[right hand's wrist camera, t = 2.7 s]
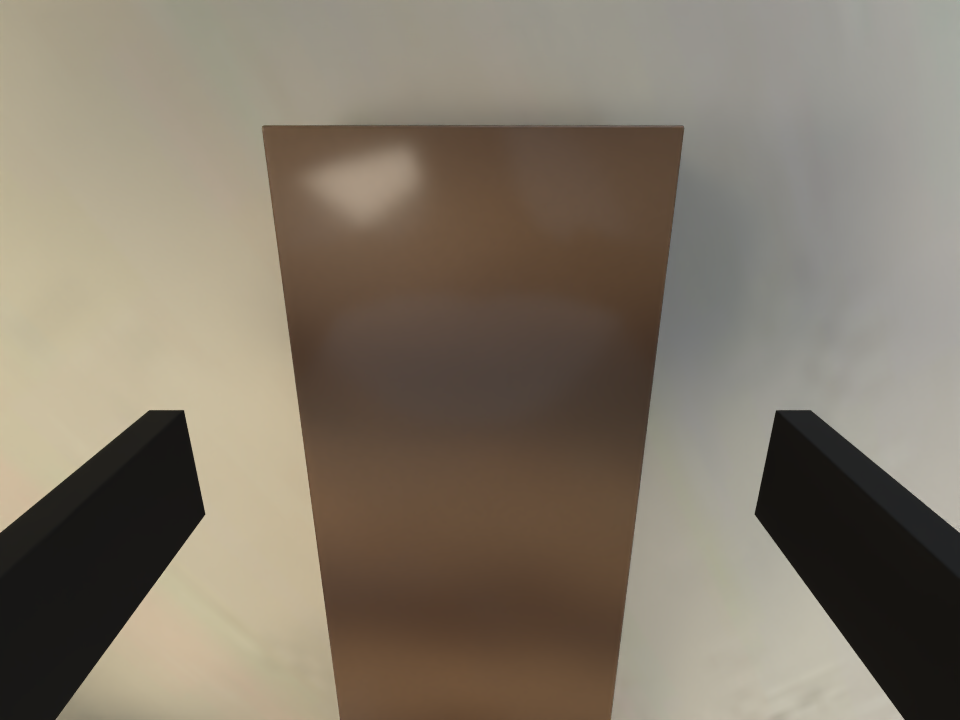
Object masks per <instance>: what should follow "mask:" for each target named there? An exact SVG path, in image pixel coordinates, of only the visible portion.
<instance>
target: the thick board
mask: <svg viewBox="0 0 960 720" xmlns="http://www.w3.org/2000/svg"><path fill="white" fill-rule="evenodd" d="M262 132H263V140H264V147H265V155H266V163H267V170H268V178H269V185H270V193H271V200H272V208H273V215H274V223H275V231H276V238H277V246H278V253H279V261H280V268H281V276H282V283H283V291H284V299H285V306H286V314H287V321H288V329H289V336H290V344H291V352H292V359H293V367H294V374H295V382H296V389H297V397H298V404H299V412H300V420H301V427H302V435H303V442H304V450H305V457H306V465H307V472H308V480H309V488H310V495H311V503H312V510H313V518H314V525H315V533H316V540H317V548H318V556H319V563H320V571H321V578H322V586H323V593H324V601H325V609H326V616H327V624H328V631H329V639H330V646H331V654H332V661H333V669H334V677H335V684H336V692H337V699H338V707H339V714H340V720H611V713H612V705H613V697H614V689H615V681H616V673H617V665H618V657H619V649H620V641H621V633H622V624H623V616H624V608H625V600H626V592H627V584H628V576H629V568H630V560H631V552H632V544H633V536H634V528H635V520H636V512H637V504H638V496H639V488H640V480H641V472H642V464H643V456H644V448H645V440H646V431H647V423H648V415H649V407H650V399H651V391H652V383H653V375H654V367H655V359H656V351H657V343H658V335H659V327H660V319H661V311H662V303H663V295H664V287H665V279H666V271H667V263H668V255H669V247H670V238H671V230H672V222H673V214H674V206H675V198H676V190H677V182H678V174H679V166H680V158H681V150H682V142H683V134H684V126H495V125H264V126H262Z"/></svg>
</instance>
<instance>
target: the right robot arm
mask: <svg viewBox="0 0 960 720" xmlns="http://www.w3.org/2000/svg"><path fill="white" fill-rule="evenodd" d="M204 515H205V510H204V506H203V501H202V496H201V491H200V486H199V481H198V476H197V472H196V467H195V462H194V457H193V452H192V447H191V442H190V438H189V433H188V428H187V423H186V418H185V413H184V410H149V411H148V412H147V413H145V414H144V415H143V416H142V417H141V418H139V419H138V420H137V421H136V422H135V423H133V424H132V425H131V426H130V427H128V428H127V429H126V430H125V431H124V432H122V433H121V434H120V435H119V436H118V437H116V438H115V439H114V440H113V441H111V442H110V443H109V444H108V445H107V446H105V447H104V448H103V449H102V450H101V451H99V452H98V453H97V454H96V455H94V456H93V457H92V458H91V459H90V460H88V461H87V462H86V463H85V464H84V465H82V466H81V467H80V468H79V469H77V470H76V471H75V472H74V473H73V474H71V475H70V476H69V477H68V478H67V479H65V480H64V481H63V482H62V483H60V484H59V485H58V486H57V487H56V488H54V489H53V490H52V491H51V492H49V493H48V494H47V495H46V496H45V497H43V498H42V499H41V500H40V501H39V502H37V503H36V504H35V505H34V506H32V507H31V508H30V509H29V510H28V511H26V512H25V513H24V514H23V515H22V516H20V517H19V518H18V519H17V520H15V521H14V522H13V523H12V524H11V525H9V526H8V527H7V528H6V529H5V530H3V531H2V532H1V533H0V720H55V719H56V718H57V717H58V715H59V714H60V713H61V711H62V710H63V709H64V707H65V706H66V704H67V703H68V702H69V700H70V699H71V698H72V696H73V695H74V693H75V692H76V691H77V689H78V688H79V687H80V685H81V684H82V683H83V681H84V680H85V678H86V677H87V676H88V674H89V673H90V672H91V670H92V669H93V667H94V666H95V665H96V663H97V662H98V661H99V659H100V658H101V656H102V655H103V654H104V652H105V651H106V650H107V648H108V647H109V646H110V644H111V643H112V641H113V640H114V639H115V637H116V636H117V635H118V633H119V632H120V630H121V629H122V628H123V626H124V625H125V624H126V622H127V621H128V620H129V618H130V617H131V615H132V614H133V613H134V611H135V610H136V609H137V607H138V606H139V604H140V603H141V602H142V600H143V599H144V598H145V596H146V595H147V594H148V592H149V591H150V589H151V588H152V587H153V585H154V584H155V583H156V581H157V580H158V578H159V577H160V576H161V574H162V573H163V572H164V570H165V569H166V567H167V566H168V565H169V563H170V562H171V561H172V559H173V558H174V557H175V555H176V554H177V552H178V551H179V550H180V548H181V547H182V546H183V544H184V543H185V541H186V540H187V539H188V537H189V536H190V535H191V533H192V532H193V531H194V529H195V528H196V526H197V525H198V524H199V522H200V521H201V520H202V518H203V517H204ZM755 515H756V517H757V518H758V520H759V521H760V522H761V524H762V525H763V526H764V528H765V529H766V531H767V532H768V533H769V535H770V536H771V537H772V539H773V540H774V541H775V543H776V544H777V546H778V547H779V548H780V550H781V551H782V552H783V554H784V555H785V557H786V558H787V559H788V561H789V562H790V563H791V565H792V566H793V567H794V569H795V570H796V572H797V573H798V574H799V576H800V577H801V578H802V580H803V581H804V583H805V584H806V585H807V587H808V588H809V589H810V591H811V592H812V594H813V595H814V596H815V598H816V599H817V600H818V602H819V603H820V604H821V606H822V607H823V609H824V610H825V611H826V613H827V614H828V615H829V617H830V618H831V620H832V621H833V622H834V624H835V625H836V626H837V628H838V629H839V630H840V632H841V633H842V635H843V636H844V637H845V639H846V640H847V641H848V643H849V644H850V646H851V647H852V648H853V650H854V651H855V652H856V654H857V655H858V656H859V658H860V659H861V661H862V662H863V663H864V665H865V666H866V667H867V669H868V670H869V672H870V673H871V674H872V676H873V677H874V678H875V680H876V681H877V683H878V684H879V685H880V687H881V688H882V689H883V691H884V692H885V693H886V695H887V696H888V698H889V699H890V700H891V702H892V703H893V704H894V706H895V707H896V709H897V710H898V711H899V713H900V714H901V715H902V717H903V718H904V719H905V720H960V533H959V532H958V531H957V530H955V529H954V528H953V527H952V526H951V525H949V524H948V523H947V522H946V521H945V520H943V519H942V518H941V517H940V516H938V515H937V514H936V513H935V512H934V511H932V510H931V509H930V508H929V507H928V506H926V505H925V504H924V503H923V502H921V501H920V500H919V499H918V498H917V497H915V496H914V495H913V494H912V493H911V492H909V491H908V490H907V489H906V488H904V487H903V486H902V485H901V484H900V483H898V482H897V481H896V480H895V479H893V478H892V477H891V476H890V475H889V474H887V473H886V472H885V471H884V470H883V469H881V468H880V467H879V466H878V465H876V464H875V463H874V462H873V461H872V460H870V459H869V458H868V457H867V456H866V455H864V454H863V453H862V452H861V451H859V450H858V449H857V448H856V447H855V446H853V445H852V444H851V443H850V442H849V441H847V440H846V439H845V438H844V437H842V436H841V435H840V434H839V433H838V432H836V431H835V430H834V429H833V428H832V427H830V426H829V425H828V424H827V423H825V422H824V421H823V420H822V419H821V418H819V417H818V416H817V415H816V414H815V413H813V412H812V411H811V410H776V413H775V418H774V423H773V428H772V433H771V438H770V442H769V447H768V452H767V457H766V462H765V467H764V472H763V476H762V481H761V486H760V491H759V496H758V501H757V506H756V510H755Z"/></svg>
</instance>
